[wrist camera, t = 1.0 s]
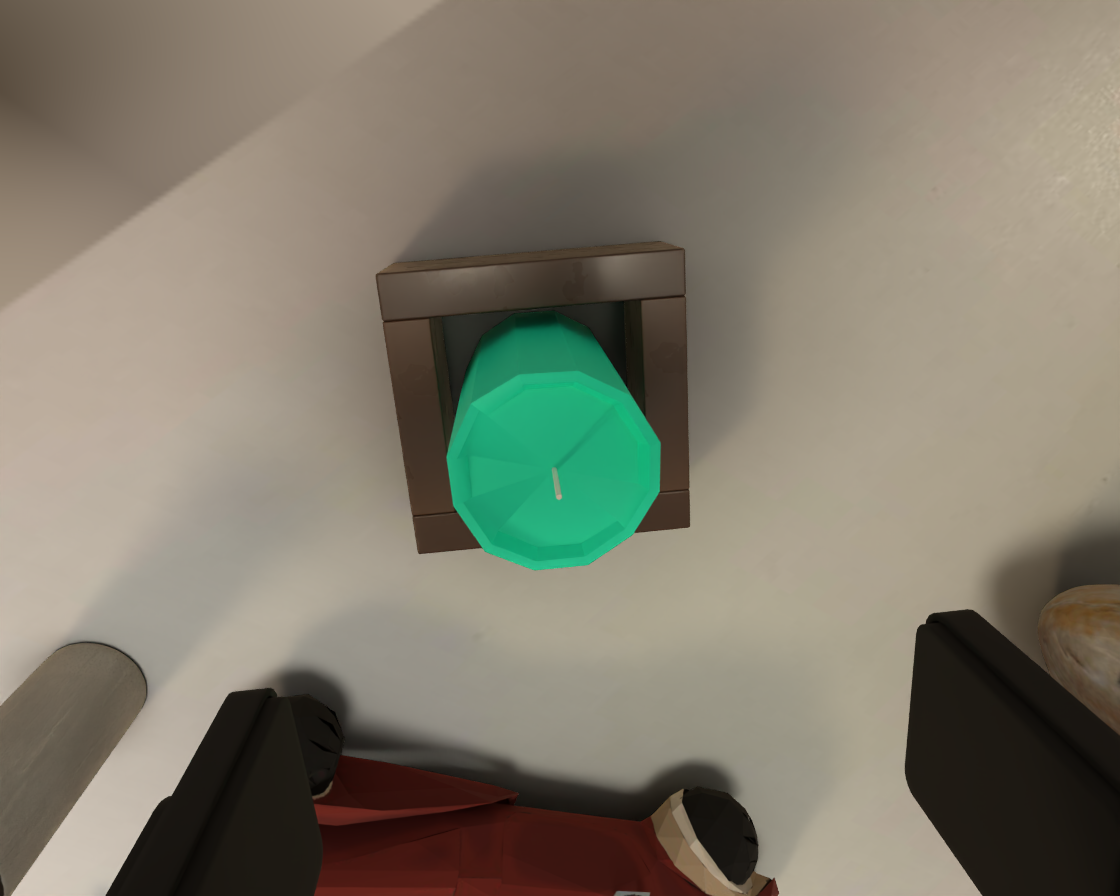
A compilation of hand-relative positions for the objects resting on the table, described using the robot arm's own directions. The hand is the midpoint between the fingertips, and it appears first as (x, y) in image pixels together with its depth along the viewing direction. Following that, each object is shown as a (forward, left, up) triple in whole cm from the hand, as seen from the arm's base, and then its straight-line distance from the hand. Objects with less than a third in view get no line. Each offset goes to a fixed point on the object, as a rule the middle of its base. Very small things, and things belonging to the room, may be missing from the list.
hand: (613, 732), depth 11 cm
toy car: (+23, -4, -21) cm, 31 cm away
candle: (0, 0, -21) cm, 21 cm away
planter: (+12, -21, -21) cm, 32 cm away
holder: (0, 0, -21) cm, 21 cm away
